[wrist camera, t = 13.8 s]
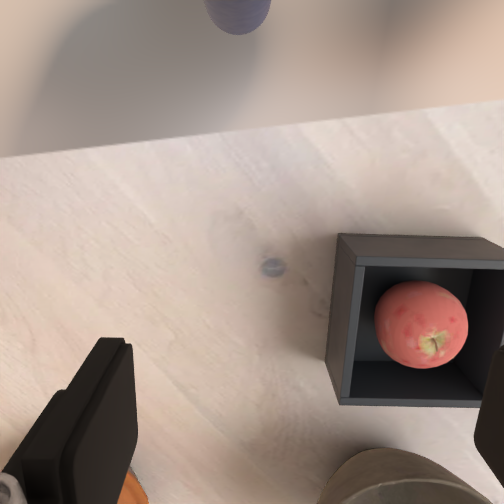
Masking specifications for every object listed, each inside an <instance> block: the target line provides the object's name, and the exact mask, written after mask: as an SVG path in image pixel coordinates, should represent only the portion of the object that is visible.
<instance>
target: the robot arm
mask: <svg viewBox="0 0 504 504" xmlns="http://www.w3.org/2000/svg"><path fill="white" fill-rule="evenodd" d="M137 438H138V423H137V408H136V393H135V378H134V362H133V348H132V345H131V344H125V340H124V338H105V337H102V338H100V339H99V340H98V341H97V343H96V344H95V346H94V347H93V349H92V350H91V352H90V353H89V355H88V356H87V358H86V360H85V361H84V363H83V364H82V366H81V367H80V369H79V370H78V372H77V373H76V375H75V376H74V378H73V379H72V381H71V383H70V384H69V386H68V387H67V389H66V390H59V391H57V392H56V393H55V394H54V395H53V397H52V398H51V400H50V401H49V403H48V404H47V406H46V407H45V409H44V410H43V412H42V413H41V415H40V416H39V417H38V419H37V420H36V422H35V423H34V425H33V426H32V428H31V429H30V431H29V432H28V434H27V435H26V436H25V438H24V439H23V441H22V442H21V444H20V445H19V447H18V448H17V450H16V451H15V453H14V454H13V455H12V457H11V458H10V460H9V461H8V463H7V464H6V466H5V467H4V469H3V470H2V472H0V504H117V502H118V499H119V496H120V493H121V490H122V487H123V484H124V481H125V478H126V475H127V472H128V469H129V466H130V463H131V460H132V457H133V454H134V451H135V448H136V444H137ZM474 443H475V446H476V448H477V450H478V452H479V453H480V455H481V456H482V457H483V459H484V460H485V462H486V463H487V465H488V466H489V467H490V469H491V470H492V472H493V473H494V475H495V476H496V478H497V479H498V480H499V482H500V483H501V485H502V486H503V488H504V345H502V346H501V347H500V348H499V350H496V351H495V352H494V353H493V355H492V359H491V364H490V368H489V372H488V376H487V381H486V385H485V389H484V393H483V398H482V402H481V406H480V410H479V415H478V419H477V423H476V427H475V432H474Z"/></svg>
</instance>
